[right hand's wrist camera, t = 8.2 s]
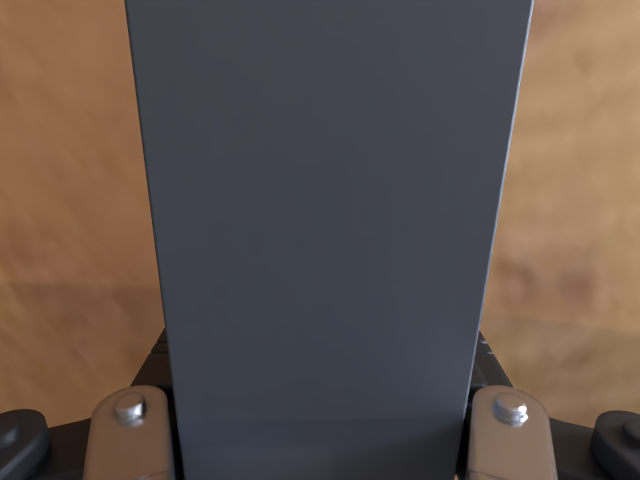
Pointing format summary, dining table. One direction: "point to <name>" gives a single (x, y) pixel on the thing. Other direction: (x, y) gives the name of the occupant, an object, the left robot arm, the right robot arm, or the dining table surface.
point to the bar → (324, 223)
